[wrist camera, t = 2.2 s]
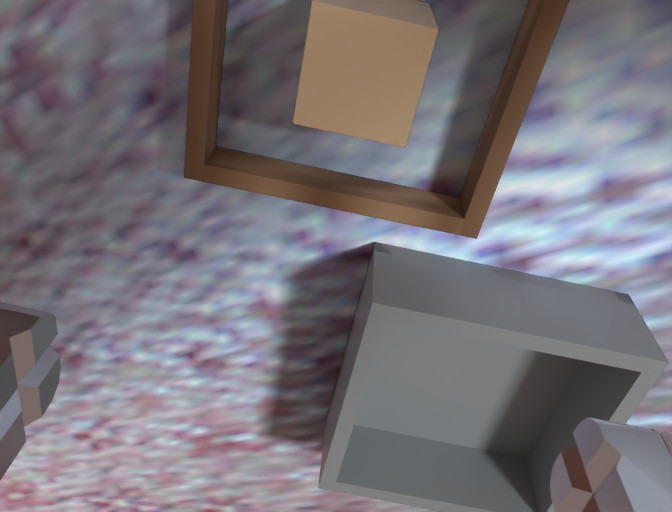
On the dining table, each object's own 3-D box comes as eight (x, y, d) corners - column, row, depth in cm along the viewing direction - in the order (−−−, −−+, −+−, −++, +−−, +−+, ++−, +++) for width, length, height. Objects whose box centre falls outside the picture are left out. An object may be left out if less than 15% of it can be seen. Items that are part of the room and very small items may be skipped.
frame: (590, -105, 24) (610, -105, 22) (470, 216, 33) (476, 238, 31) (220, -193, 24) (203, -201, 22) (197, 158, 32) (183, 177, 30)
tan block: (429, 3, 27) (438, 29, 22) (402, 104, 30) (405, 147, 25) (326, -21, 27) (312, 0, 22) (308, 83, 30) (292, 123, 25)
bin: (628, 294, 35) (668, 362, 30) (530, 457, 44) (549, 531, 39) (374, 242, 34) (372, 302, 29) (326, 418, 43) (318, 488, 38)
